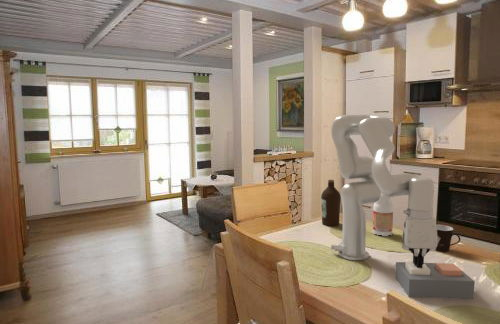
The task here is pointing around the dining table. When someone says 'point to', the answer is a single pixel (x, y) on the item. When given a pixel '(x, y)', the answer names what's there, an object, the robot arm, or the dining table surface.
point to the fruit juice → (383, 216)
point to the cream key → (417, 269)
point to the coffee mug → (444, 238)
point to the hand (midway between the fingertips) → (418, 266)
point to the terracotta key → (448, 269)
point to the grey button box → (434, 284)
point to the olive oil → (330, 205)
